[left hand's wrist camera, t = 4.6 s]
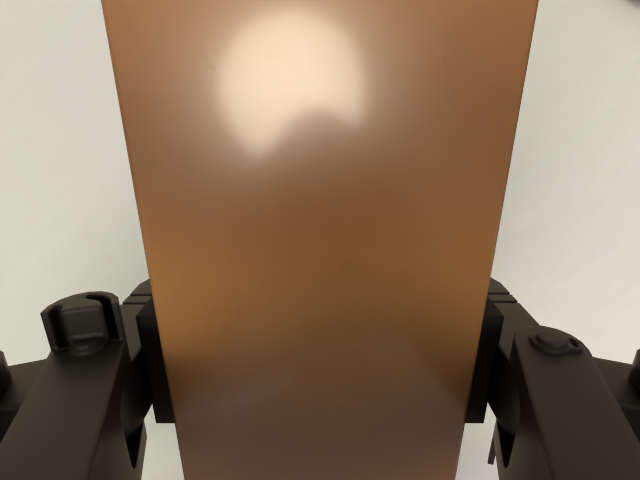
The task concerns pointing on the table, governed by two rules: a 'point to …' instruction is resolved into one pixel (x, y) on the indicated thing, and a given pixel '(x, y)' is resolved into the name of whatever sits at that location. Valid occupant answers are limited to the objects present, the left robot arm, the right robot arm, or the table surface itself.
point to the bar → (319, 221)
